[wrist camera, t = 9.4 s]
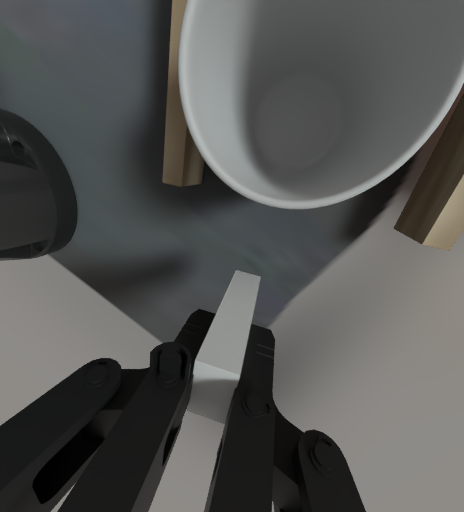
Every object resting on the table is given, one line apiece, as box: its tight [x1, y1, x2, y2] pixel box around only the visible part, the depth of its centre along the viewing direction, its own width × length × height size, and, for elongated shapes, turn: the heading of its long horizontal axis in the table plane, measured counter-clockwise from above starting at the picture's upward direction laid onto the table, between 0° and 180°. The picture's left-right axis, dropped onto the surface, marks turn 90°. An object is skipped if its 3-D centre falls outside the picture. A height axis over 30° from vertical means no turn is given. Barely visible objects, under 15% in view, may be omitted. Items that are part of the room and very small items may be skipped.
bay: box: [163, 0, 464, 251], centre depth 13 cm, size 19×14×4 cm
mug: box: [178, 0, 464, 209], centre depth 11 cm, size 12×9×10 cm
